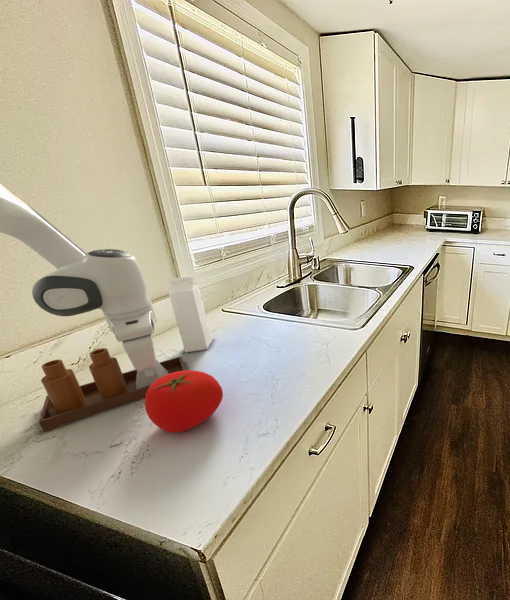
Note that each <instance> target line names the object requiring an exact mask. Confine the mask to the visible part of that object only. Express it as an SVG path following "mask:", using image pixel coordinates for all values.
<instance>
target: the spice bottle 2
mask: <svg viewBox="0 0 510 600" xmlns="http://www.w3.org/2000/svg"><path fill="white" fill-rule="evenodd" d="M109 352H110V351H109V350H108V348H106V347H102V348H97V349H94V350H92V351H91V352H89V357H90V359H91V364H89V366H88V369H89V372H90V374H91V376H92V378H93V380H94V381H93V382H95V383H96V386H97V388H98V391H99V393H100V395H101V398H102V399H103V400H105V399H108V398H111V397H114V396H117V395H120V394H123V393H126V392H127V391H128V388H127V385H126V382H125V380H124V377H123V374H122V373H123V372H122V369H121V366H120V364H119V361H118V359H117V358H116V357H113V356H111V355H110V353H109Z"/></svg>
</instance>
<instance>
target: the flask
mask: <svg viewBox="0 0 510 600" xmlns="http://www.w3.org/2000/svg"><path fill="white" fill-rule="evenodd" d="M159 362H160V361H158V359H156V366H155V367H153V368H154V372H155V374H154V375H153V376H149V377H146V375H145V372H144V370H143V371H138V372H137V379H136V389H139V388H142V387H145V386H148V385H151V384H153V383H154V382H155V381H156V380H157V379H159V378H161V377H163V376H165V375H168V374H169V372H168V371H167V370H166V369H165V368H164V367H163V366H162V365H161V364H160V363H159Z"/></svg>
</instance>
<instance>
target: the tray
mask: <svg viewBox="0 0 510 600" xmlns="http://www.w3.org/2000/svg"><path fill="white" fill-rule="evenodd" d="M158 362H159V363H160V364H161V365H162V366H163V367H164V368H165V369H166V370H167V371H168V372H169V374H170V373H174V372H178V371H187V368H186V365H185V362H184V360H183V358H182V355H180V356H177V357H172V358H169V359H166V360H163V361H158ZM137 372H138V371H137V370H136V369H133V370H129V371H125V372H122V374H123V377H124V380H125V382H126V385H127V388H128V391H127V392H126V393H123V394H120V395H117V396H114V397H111V398H108V399H105V400H103V399H102V398H101V395H100V393H99V391H98V388H97V386H96V383H95V381H92V382H89V383H83V384H81V385H80V388H81V390H82V392H83V394H84V397H85V399H86V401H87V403H86V405H85V406H83V407H80V408H77V409H74V410H71V411H68V412H65V413H62V414H58V413H57V412H56V410H55V408H54V406H53V404H52V402H51V400H50V398H49V396H48V394H47V395H46V396H45V400H44V403H43V406H42V409H41V413H40V417H39V420H38V423H39V426H40V427H41V429H42V432H48V431H50V430H53V429H57V428H59V427H62V426H65V425H68V424H71V423H73V422H77V421H80V420H83V419H86V418H89V417H91V416H94V415H97V414H100V413H103V412H106V411H109V410H113V409H116V408H119V407H120V406H123V405H127V404H130V403H133V402H136V401H138V400H142V399H145V396H146V393H147V390H148V388H149V387H150V386H151V385H152V384H151V385H148V386H145V387H142V388H139V389H136V379H137Z"/></svg>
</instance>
